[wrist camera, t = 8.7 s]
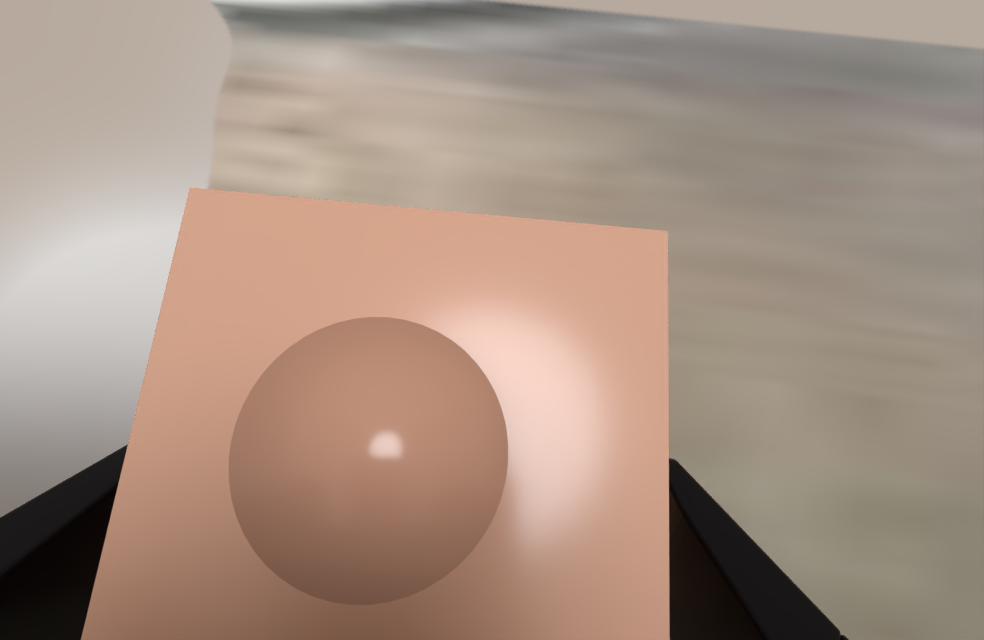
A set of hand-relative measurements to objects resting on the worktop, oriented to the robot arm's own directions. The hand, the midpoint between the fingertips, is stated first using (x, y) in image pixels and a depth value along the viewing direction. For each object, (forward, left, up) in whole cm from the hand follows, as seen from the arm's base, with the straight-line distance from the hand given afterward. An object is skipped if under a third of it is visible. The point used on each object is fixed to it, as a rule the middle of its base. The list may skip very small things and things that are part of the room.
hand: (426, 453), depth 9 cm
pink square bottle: (0, 0, -7) cm, 7 cm away
